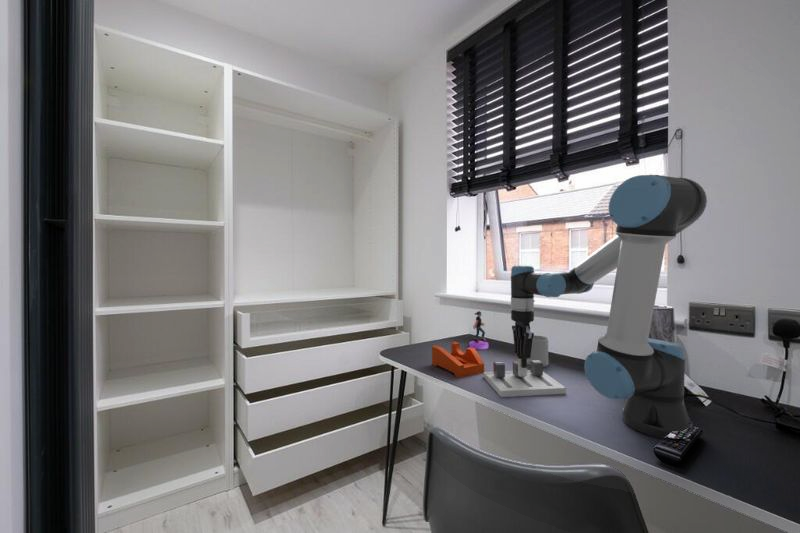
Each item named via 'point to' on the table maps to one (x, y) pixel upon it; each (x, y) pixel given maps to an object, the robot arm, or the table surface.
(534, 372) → the block
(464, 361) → the tape dispenser
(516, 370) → the block
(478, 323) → the figurine
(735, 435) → the table surface
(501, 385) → the panel
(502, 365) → the block
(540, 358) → the mug
